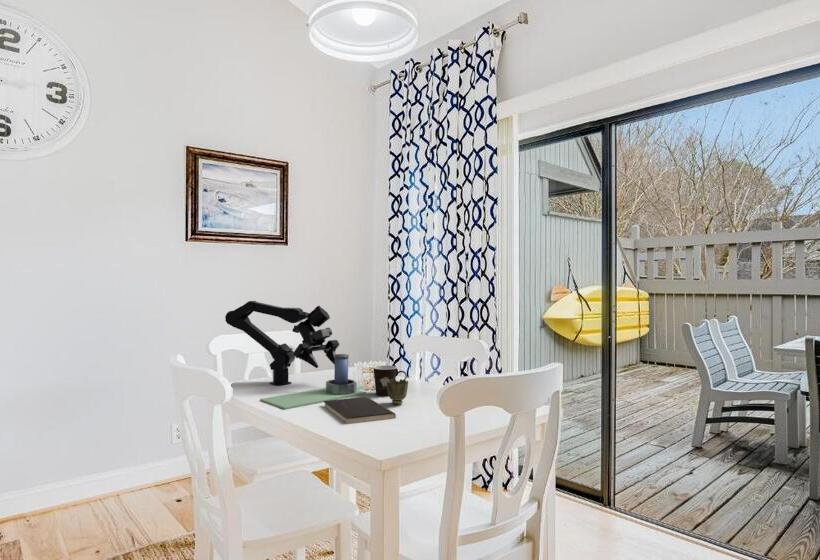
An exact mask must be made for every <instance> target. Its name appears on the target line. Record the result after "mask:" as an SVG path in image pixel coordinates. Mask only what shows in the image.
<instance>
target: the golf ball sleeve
mask: <svg viewBox="0 0 820 560" xmlns="http://www.w3.org/2000/svg"><path fill="white" fill-rule="evenodd" d="M334 358H335V365H334V376H333V377H334V379H333V380H334V384H339V385H341V384H348V379H349V354H347V353H338V354H337V353H336V355H334Z"/></svg>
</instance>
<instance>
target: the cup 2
mask: <svg viewBox="0 0 820 560" xmlns="http://www.w3.org/2000/svg"><path fill="white" fill-rule="evenodd" d="M408 387H409V381H408V380H407V379H405V378H404V379H402V378H401V379H399V380H398V381H397V379H396V378H395V380H393V379H391V381H390V380H389V381H388V380H387V391H388V397H389V399H390V400H391V404H392V405H394V406H395V405H396V406H399V405H402V404H403V402H404V401H403V400H404V399H406V397H407V393H408Z"/></svg>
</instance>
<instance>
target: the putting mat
mask: <svg viewBox="0 0 820 560" xmlns="http://www.w3.org/2000/svg"><path fill="white" fill-rule="evenodd" d="M366 393H367V392H366V391H363V390H359V389H356V392H355V393H352V394H346V395H334V394H329V393H327V392H326V387H322V388H316V389H315V388H314V389H311V390H310V389H309V390H305V391H297V392H294V393H287V394H279V395H276V396H269V397H265V398H259V401H260V402H262V403H266V404H268V405H272V406H274V407H277V408H280V409H283V410H290V409H295V408H301V407H303V406H304V407H305V406H310V405H315V404H320V403H324V401H328V400H338V399H348V398H353V397H357V396H361V395H365V394H366Z"/></svg>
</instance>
